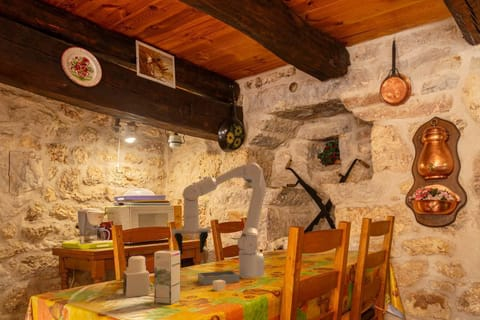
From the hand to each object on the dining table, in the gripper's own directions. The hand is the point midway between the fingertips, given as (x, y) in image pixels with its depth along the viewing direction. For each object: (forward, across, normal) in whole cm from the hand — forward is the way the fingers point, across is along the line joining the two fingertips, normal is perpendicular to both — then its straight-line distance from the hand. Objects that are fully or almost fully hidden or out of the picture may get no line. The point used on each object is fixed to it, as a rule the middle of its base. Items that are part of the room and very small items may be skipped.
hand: (191, 253), depth 144 cm
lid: (+11, -8, +21) cm, 25 cm away
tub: (+10, -8, +9) cm, 16 cm away
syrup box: (+10, +13, +30) cm, 34 cm away
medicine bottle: (+10, +21, +16) cm, 28 cm away
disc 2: (+9, -11, +9) cm, 17 cm away
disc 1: (+9, -6, +9) cm, 14 cm away
